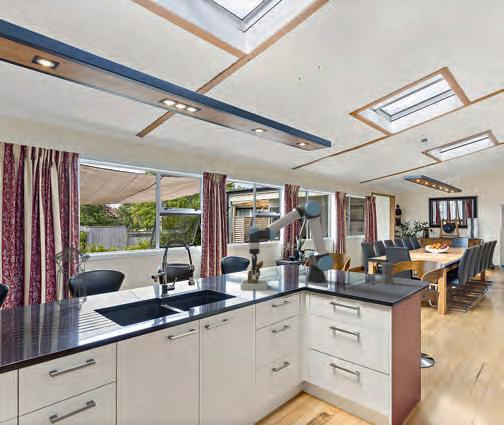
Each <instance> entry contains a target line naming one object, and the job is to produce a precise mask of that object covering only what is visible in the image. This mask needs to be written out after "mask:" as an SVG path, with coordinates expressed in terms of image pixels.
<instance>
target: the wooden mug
mask: <svg viewBox="0 0 504 425" xmlns="http://www.w3.org/2000/svg"><path fill="white" fill-rule="evenodd" d="M263 265H264V261H263V260H261V261H259V262H257V269H256V279H252V270H248V271H247V272H248V273H247V279H246V280H247V284H258V280H260V279H259V278H260V275H261V269H262V268H263Z"/></svg>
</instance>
